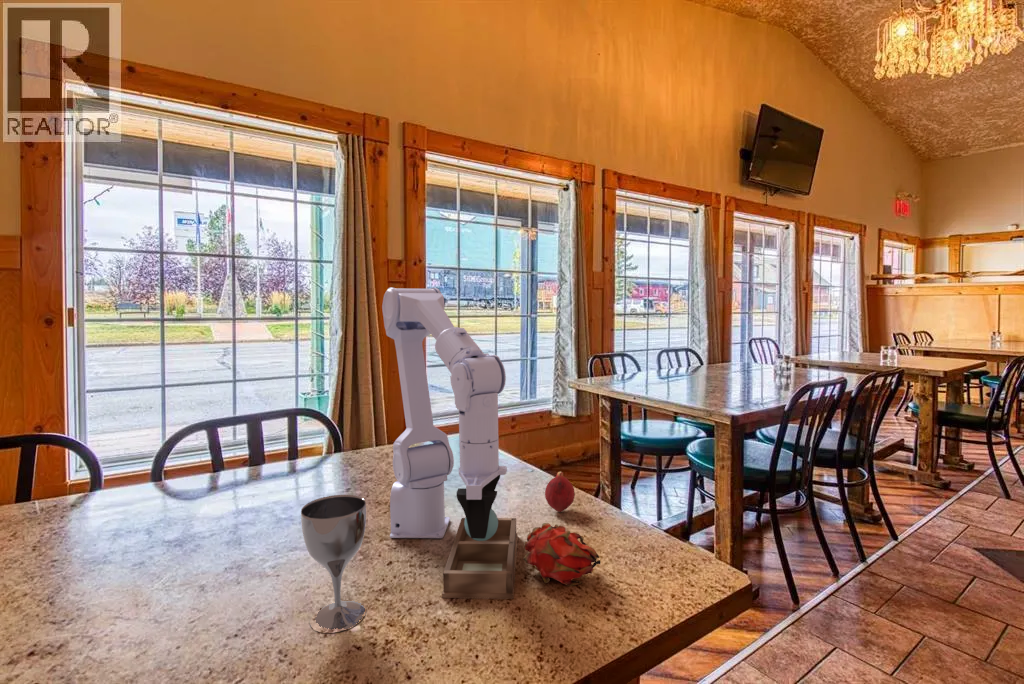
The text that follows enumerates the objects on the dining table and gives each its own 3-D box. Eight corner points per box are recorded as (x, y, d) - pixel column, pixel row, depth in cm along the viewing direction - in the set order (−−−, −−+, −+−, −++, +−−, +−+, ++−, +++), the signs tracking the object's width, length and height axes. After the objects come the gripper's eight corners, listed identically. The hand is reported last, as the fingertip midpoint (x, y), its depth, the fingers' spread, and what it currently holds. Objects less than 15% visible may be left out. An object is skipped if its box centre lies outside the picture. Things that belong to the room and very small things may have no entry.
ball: (462, 547, 73) (462, 514, 72) (466, 531, 78) (466, 500, 77) (497, 547, 73) (497, 513, 72) (499, 531, 78) (498, 499, 77)
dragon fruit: (520, 574, 80) (594, 603, 75) (505, 566, 73) (585, 597, 68) (538, 521, 83) (609, 545, 78) (525, 508, 76) (602, 534, 71)
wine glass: (316, 600, 71) (311, 495, 69) (374, 597, 71) (370, 493, 70) (297, 637, 63) (291, 520, 62) (362, 633, 63) (358, 517, 62)
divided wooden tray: (441, 597, 71) (441, 574, 71) (461, 535, 90) (460, 517, 90) (513, 598, 70) (512, 575, 70) (517, 536, 89) (517, 517, 89)
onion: (573, 519, 96) (573, 478, 95) (543, 517, 97) (543, 476, 97) (575, 507, 102) (575, 468, 101) (547, 505, 103) (547, 466, 102)
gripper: (503, 453, 67) (504, 552, 68) (508, 426, 81) (509, 509, 82) (450, 453, 67) (452, 552, 68) (464, 426, 82) (466, 508, 83)
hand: (480, 528), depth 75 cm, fingers closed on ball, 5 cm apart
